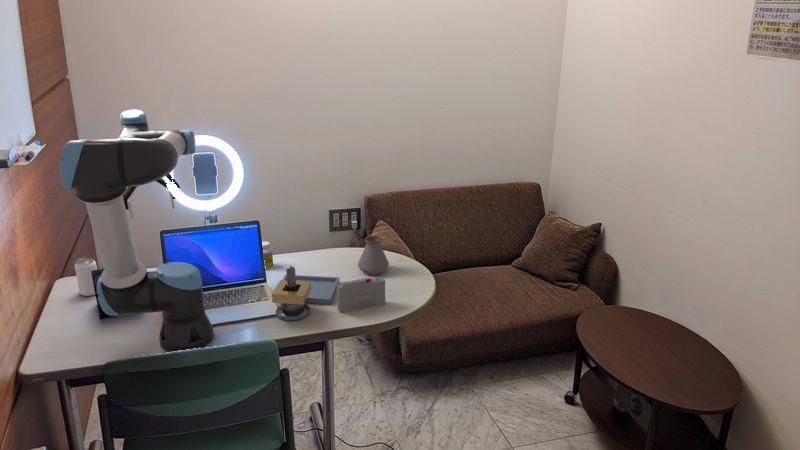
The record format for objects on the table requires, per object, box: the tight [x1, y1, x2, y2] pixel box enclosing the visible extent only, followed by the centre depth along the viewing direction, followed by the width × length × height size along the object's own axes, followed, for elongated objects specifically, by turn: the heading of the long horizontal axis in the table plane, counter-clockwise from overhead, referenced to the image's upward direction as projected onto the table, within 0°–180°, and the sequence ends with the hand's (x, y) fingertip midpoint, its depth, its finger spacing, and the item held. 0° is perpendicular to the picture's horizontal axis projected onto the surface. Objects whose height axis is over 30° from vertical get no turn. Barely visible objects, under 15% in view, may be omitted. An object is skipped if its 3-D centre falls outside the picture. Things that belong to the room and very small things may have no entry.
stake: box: [275, 265, 311, 322], centre depth 189 cm, size 11×11×16 cm
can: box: [74, 256, 98, 297], centre depth 201 cm, size 6×6×12 cm
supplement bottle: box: [261, 241, 274, 270], centre depth 223 cm, size 5×5×10 cm
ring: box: [271, 279, 311, 305], centre depth 191 cm, size 12×10×3 cm
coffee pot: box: [357, 219, 390, 276], centre depth 224 cm, size 21×12×15 cm, turn 13°
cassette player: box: [336, 276, 386, 314], centre depth 195 cm, size 16×3×10 cm, turn 112°
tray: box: [281, 274, 340, 306], centre depth 206 cm, size 17×20×2 cm
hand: (152, 211), depth 205 cm, fingers open, 13 cm apart
